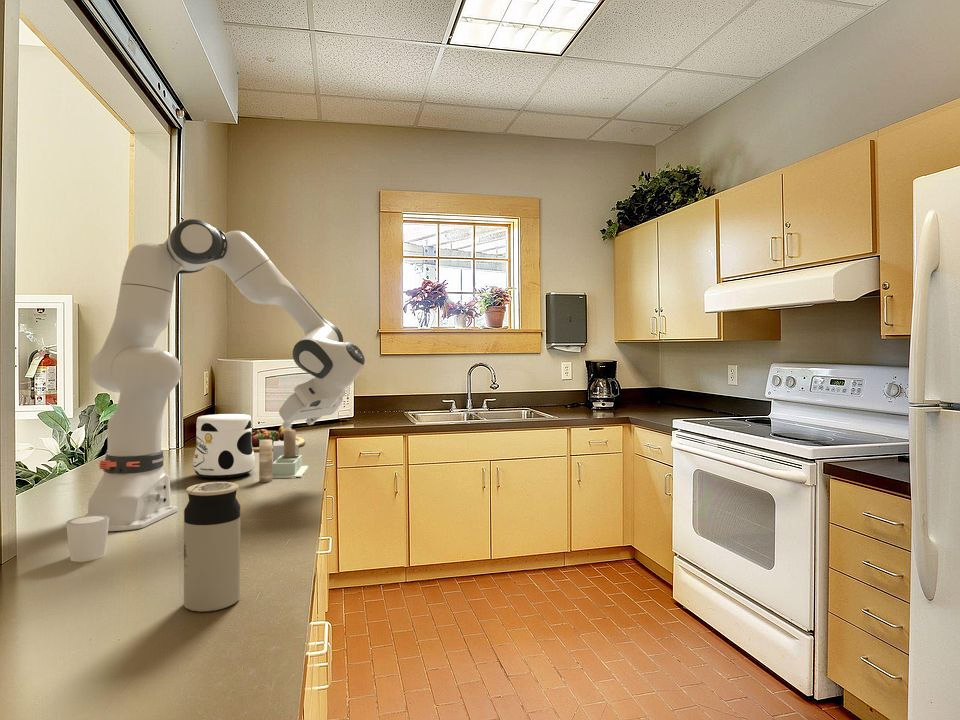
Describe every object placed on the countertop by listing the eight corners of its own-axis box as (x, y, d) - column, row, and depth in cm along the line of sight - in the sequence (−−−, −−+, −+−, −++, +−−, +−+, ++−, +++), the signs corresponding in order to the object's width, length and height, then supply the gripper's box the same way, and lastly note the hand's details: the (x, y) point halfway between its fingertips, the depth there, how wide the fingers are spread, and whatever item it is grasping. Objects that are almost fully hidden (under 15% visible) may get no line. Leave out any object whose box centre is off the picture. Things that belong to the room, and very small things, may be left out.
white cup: (101, 548, 121) (101, 512, 121) (115, 556, 117) (115, 519, 117) (60, 557, 116) (60, 519, 116) (73, 565, 112) (73, 526, 112)
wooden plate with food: (207, 445, 248) (207, 424, 248) (283, 437, 270) (283, 418, 269) (238, 458, 224) (238, 435, 224) (319, 448, 246) (319, 427, 246)
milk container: (179, 479, 184) (179, 418, 184) (221, 468, 201) (221, 412, 200) (227, 483, 179) (227, 421, 178) (266, 472, 195) (266, 415, 195)
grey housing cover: (298, 466, 206) (298, 444, 206) (273, 467, 203) (273, 445, 203) (297, 460, 215) (298, 440, 215) (273, 461, 213) (273, 441, 213)
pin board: (301, 477, 188) (301, 436, 187) (263, 478, 186) (263, 436, 186) (308, 467, 204) (309, 429, 203) (273, 467, 202) (274, 429, 202)
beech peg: (270, 482, 181) (271, 441, 181) (257, 482, 180) (258, 441, 180) (273, 479, 184) (273, 439, 184) (260, 480, 184) (260, 439, 184)
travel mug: (247, 592, 101) (247, 481, 100) (228, 613, 93) (229, 492, 92) (197, 592, 100) (197, 481, 100) (174, 613, 92) (174, 492, 92)
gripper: (341, 381, 182) (316, 413, 187) (291, 386, 164) (264, 421, 169) (354, 397, 180) (327, 428, 185) (304, 403, 162) (277, 438, 167)
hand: (297, 425), depth 177 cm, fingers open, 8 cm apart
